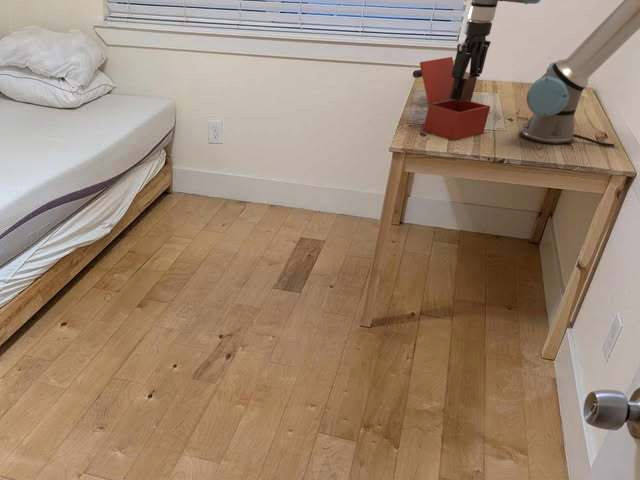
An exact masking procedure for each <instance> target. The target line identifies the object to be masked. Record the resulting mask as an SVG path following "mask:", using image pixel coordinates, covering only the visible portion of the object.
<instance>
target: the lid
mask: <svg viewBox="0 0 640 480" xmlns="http://www.w3.org/2000/svg"><path fill="white" fill-rule="evenodd" d="M454 63H455V62H454V58H453V56H449V57H443V58H436V59H431V60H425V61H420V62H419V67H420V69H416V70H414V71H413V72H412V77H413V78H415V79H417V78H422V80H423V86H424V90H425V95H426V100H427V104H433V102H437V101H442V100H447V99H450V98H449V97H450V93H451V89H452V85H453V81H454V78H453V77H452V71H453V67H454Z"/></svg>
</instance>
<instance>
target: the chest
mask: <svg viewBox="0 0 640 480" xmlns="http://www.w3.org/2000/svg"><path fill="white" fill-rule="evenodd" d="M490 109H491V106H490V105H488V104H483V103H479V102H476V101H472V100H471V101H468V100H467V101H462V102H461V101H457V100H454V99H453V100H448V101H443V102H438V103H433V102H432V103H428V106H427V111H426V115H425V120H424V125H423V129H422V131H423V132H425V133H429V134H432V135H434V136H435V135H436V136H437V137H442V138H445V139H447V140H452V141H456V140H460V139H464V138H468V137H472V136H476V135H480V134H484V132H485V129H486V125H487V120H488V117H489V114H490Z"/></svg>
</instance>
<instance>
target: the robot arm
mask: <svg viewBox="0 0 640 480" xmlns="http://www.w3.org/2000/svg"><path fill="white" fill-rule="evenodd" d="M498 2H509V3H517V4H519V3H520V4H524V5H529V4H531V5H536V4H539V3H540V2H541V0H471V2H470V3H471V4H470V8H469V12H468V16H467V19H468V20H467V21H466V23H465V26H464V34H465V36H466V37H465V39H464V41H463V43H457V46H456V55H455V59H454V62H453V63H454V67H453V71H452V77H453V78H455V83H454V87H453V93H452V97H451V99H454V100H460V95H461V91H462V87H463V83H464V79H463V77H464V74H465V72H467V69H468V66H469V73H470V76H473V77H477V78H480V76H481V74H482V73H483V70H484V66H485V62H486V58H487V55H488V50H489V48H490V46H491V44H492V43H491V40H487V38H486V37H488V36H489V35H490V34H491V31H492V26H493V21H494V19H495V16H496V10H497V6H498ZM639 30H640V0H622V1H621V3H619V4H618V6H617V7H616V8H614V9H613V11H612V12H611V13H609V15H608V16H607V17H606V18H605V19H603V21H602V22H601V23H600V24H599V25H598V26H597V27H596V28H595V29H594V30H593V31H592V32H591V33H590V34H589V35H588V36H587V37H586V38H585V40H583V41H582V42H581V44H579V45H578V47H576V48H575V49H574V50H573V51H572V53H571V54H570V55H569V56H568V57H567V58H565V59H558V60H557V61H555V62H551V63H549V65H548V67H547V69H546V72H545V73H544V74H543V75H541V77H540V78H538V79H537V80H535V81H534V82H533V83H532V84H531V85H530V87H529V89H528V91H527V93H526V104H527V107H528V108H529V110H530V111H531V112H532V113H533V114H532V115H531V116H530V118H529V119H528V121H527V122H526V123H525V122H524V123H523V125H522V128H523V129H522V131H521V136H522V137H523V138H525V139H527V140H530V141H533V142H538V143H542V144H551V145H561V144H563V145H564V144H568V143H571V142H573V138H577V139H580V140H583V141H587V142H590V143H593V144H595V145H598V146H599V145H600V146H605V147H612V148H613V147H615V143H609V142H602V141H598V140H595V139H593V138H589V137H586V136H582V135H578V134H575V114H576V111H577V108H578V105H579V102H580V99H581V96H582V93H583V91H584V90H585V89H586V88H587V87H588V86H589V79H590V77H591V76H592V75H593V74H595V72H596V71H597V70H598V69H600V67H601V66H602V65H604V63H605V62H607V60H608V59H610V58H611V57H612V56H613V55H614V54H615V53H616V52H617V51H618V50H619V49H620V48H621V47H622V46H624V45H625V43H626V42H628V40H630V38H631V37H633V36H634V35H635V34H636V33H637V31H639ZM469 64H470V65H469Z"/></svg>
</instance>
